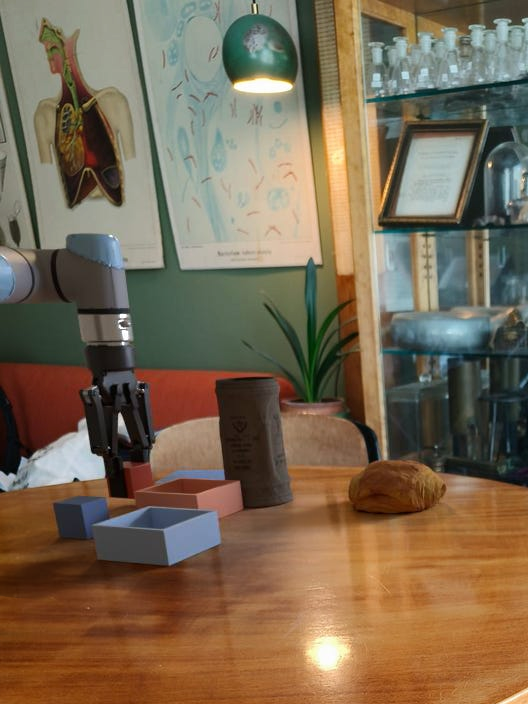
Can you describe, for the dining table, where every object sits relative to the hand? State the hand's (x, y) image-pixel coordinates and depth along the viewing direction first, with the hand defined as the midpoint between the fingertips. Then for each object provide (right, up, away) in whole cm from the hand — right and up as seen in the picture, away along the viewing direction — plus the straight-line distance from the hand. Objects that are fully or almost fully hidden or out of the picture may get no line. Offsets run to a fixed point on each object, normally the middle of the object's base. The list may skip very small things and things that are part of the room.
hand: (131, 493), depth 144 cm
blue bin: (+14, -12, -27) cm, 33 cm away
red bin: (+12, -5, -7) cm, 15 cm away
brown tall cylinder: (+21, 0, +4) cm, 21 cm away
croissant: (+43, -3, -4) cm, 44 cm away
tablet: (+9, +5, +18) cm, 20 cm away
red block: (0, 0, 0) cm, 0 cm away
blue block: (0, -9, -17) cm, 19 cm away
